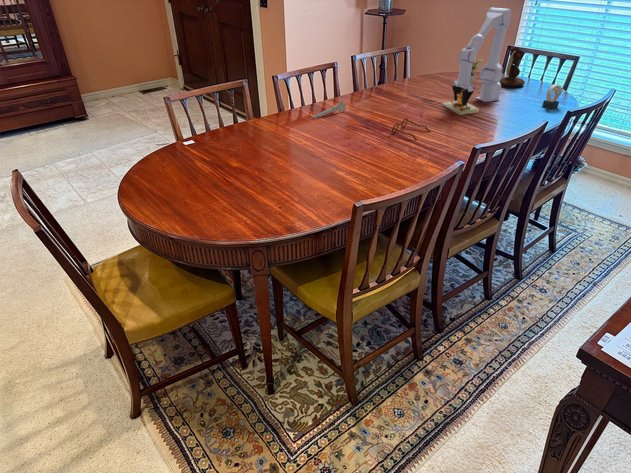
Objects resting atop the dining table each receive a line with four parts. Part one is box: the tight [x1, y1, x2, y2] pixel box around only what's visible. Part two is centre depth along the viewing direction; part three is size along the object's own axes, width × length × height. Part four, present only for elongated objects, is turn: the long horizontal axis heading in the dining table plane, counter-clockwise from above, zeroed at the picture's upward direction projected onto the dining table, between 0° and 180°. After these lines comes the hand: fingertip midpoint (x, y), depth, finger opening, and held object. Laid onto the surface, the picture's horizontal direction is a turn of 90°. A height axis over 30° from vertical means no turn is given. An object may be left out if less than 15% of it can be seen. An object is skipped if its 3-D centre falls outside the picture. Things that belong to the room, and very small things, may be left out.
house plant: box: [469, 58, 486, 87], centre depth 251 cm, size 14×14×16 cm
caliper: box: [310, 100, 346, 120], centre depth 219 cm, size 20×1×6 cm, turn 120°
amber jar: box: [456, 92, 465, 107], centre depth 220 cm, size 5×5×7 cm
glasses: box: [391, 117, 431, 141], centre depth 195 cm, size 13×13×5 cm
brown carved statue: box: [499, 47, 526, 88], centre depth 248 cm, size 15×15×20 cm
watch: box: [541, 84, 564, 110], centre depth 215 cm, size 6×8×11 cm
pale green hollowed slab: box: [441, 100, 480, 116], centre depth 221 cm, size 10×18×3 cm, turn 15°
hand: (460, 102), depth 220 cm, fingers open, 7 cm apart
